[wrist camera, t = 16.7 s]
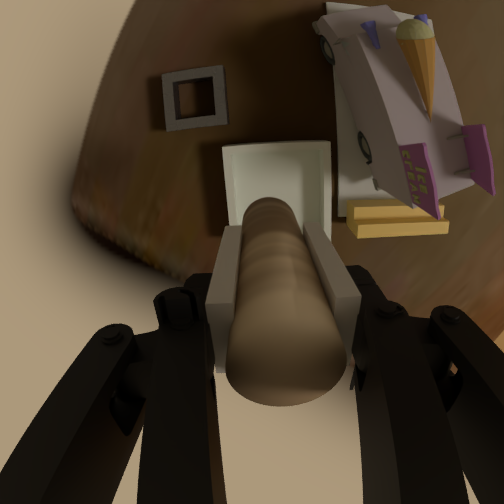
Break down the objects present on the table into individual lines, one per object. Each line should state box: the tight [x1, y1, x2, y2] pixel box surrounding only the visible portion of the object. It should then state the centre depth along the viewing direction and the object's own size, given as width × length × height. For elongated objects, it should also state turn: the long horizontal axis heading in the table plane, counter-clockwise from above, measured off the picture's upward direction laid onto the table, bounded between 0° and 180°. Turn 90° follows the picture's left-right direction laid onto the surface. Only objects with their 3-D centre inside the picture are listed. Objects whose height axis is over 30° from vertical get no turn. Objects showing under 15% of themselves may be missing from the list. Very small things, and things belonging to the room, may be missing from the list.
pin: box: [225, 197, 347, 406], centre depth 13 cm, size 3×3×12 cm
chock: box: [346, 199, 449, 238], centre depth 33 cm, size 3×12×4 cm, turn 94°
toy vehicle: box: [312, 5, 496, 220], centre depth 22 cm, size 9×20×15 cm, turn 23°
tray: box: [222, 140, 331, 242], centre depth 33 cm, size 11×11×3 cm
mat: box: [326, 2, 434, 217], centre depth 30 cm, size 26×14×1 cm, turn 4°
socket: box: [162, 65, 229, 132], centre depth 29 cm, size 6×6×2 cm
